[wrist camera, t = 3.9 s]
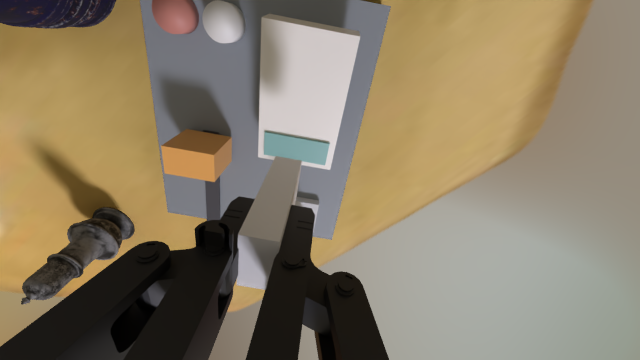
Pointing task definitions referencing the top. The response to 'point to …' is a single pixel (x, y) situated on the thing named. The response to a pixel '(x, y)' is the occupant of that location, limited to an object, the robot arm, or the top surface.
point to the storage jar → (54, 12)
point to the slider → (197, 155)
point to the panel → (246, 94)
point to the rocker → (303, 88)
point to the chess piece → (80, 252)
